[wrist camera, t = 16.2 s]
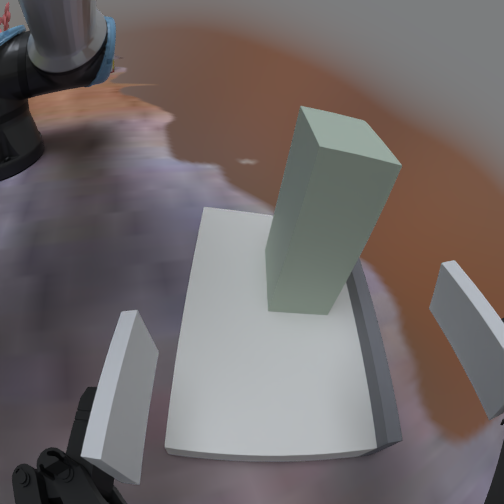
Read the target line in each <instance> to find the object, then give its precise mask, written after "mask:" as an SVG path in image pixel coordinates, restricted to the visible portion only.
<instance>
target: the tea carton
mask: <svg viewBox="0 0 504 504" xmlns="http://www.w3.org/2000/svg"><path fill="white" fill-rule="evenodd" d="M401 167H402V165H401V164H400V162H399V161H398V160H397V159H396V157H395V156H394V155H393V154H392V152H391V151H390V150H389V149H388V147H387V146H386V145H385V144H384V143H383V141H382V140H381V139H380V138H379V137H378V136H377V134H376V133H375V132H374V131H373V130H372V128H371V127H370V126H369V125H368V124H367V123H366V122H365V121H363V120H360V119H355V118H352V117H347V116H344V115H340V114H335V113H331V112H327V111H322V110H318V109H313V108H308V107H303V106H301V107H300V110H299V114H298V118H297V122H296V127H295V131H294V135H293V139H292V143H291V147H290V151H289V156H288V160H287V164H286V168H285V172H284V176H283V180H282V184H281V188H280V192H279V196H278V200H277V204H276V208H275V212H274V216H273V220H272V224H271V228H270V232H269V236H268V240H267V244H266V248H265V260H266V280H267V300H268V311H271V312H285V313H299V314H316V315H328V313H329V311H330V310H331V308H332V306H333V304H334V303H335V301H336V299H337V297H338V295H339V294H340V292H341V290H342V288H343V286H344V285H345V283H346V281H347V279H348V277H349V275H350V273H351V272H352V270H353V268H354V266H355V264H356V262H357V260H358V258H359V256H360V254H361V252H362V250H363V248H364V246H365V244H366V242H367V240H368V238H369V236H370V234H371V232H372V230H373V228H374V226H375V224H376V222H377V220H378V218H379V216H380V214H381V212H382V209H383V207H384V205H385V203H386V201H387V199H388V197H389V194H390V191H391V190H392V188H393V185H394V183H395V181H396V179H397V176H398V174H399V172H400V169H401Z"/></svg>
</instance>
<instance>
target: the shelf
mask: <svg viewBox="0 0 504 504" xmlns="http://www.w3.org/2000/svg"><path fill="white" fill-rule="evenodd" d="M272 220H273V215H265V214H258V213H250V212H242V211H234V210H226V209H218V208H210V207H204V210H203V214H202V219H201V224H200V228H199V233H198V238H197V243H196V248H195V253H194V258H193V263H192V268H191V274H190V279H189V284H188V290H187V295H186V301H185V307H184V312H183V318H182V324H181V330H180V336H179V342H178V349H177V355H176V362H175V369H174V376H173V383H172V390H171V397H170V405H169V413H168V421H167V429H166V438H165V449H166V451H167V452H168V454H170V455H177V456H185V457H193V458H203V459H214V460H228V461H249V462H293V461H314V460H328V459H339V458H349V457H357V456H364V455H371V454H374V453H376V452H379V451H381V450H383V449H385V448H387V447H390V446H392V445H394V444H396V443H398V442H400V441H402V434H401V428H400V422H399V416H398V411H397V405H396V400H395V395H394V390H393V385H392V380H391V376H390V371H389V367H388V362H387V358H386V353H385V349H384V345H383V341H382V337H381V333H380V329H379V325H378V321H377V318H376V314H375V310H374V306H373V303H372V299H371V296H370V292H369V289H368V285H367V282H366V279H365V275H364V272H363V269H362V265H361V262H360V259H359V258H358V260H357V262H356V264H355V266H354V268H353V270H352V272H351V273H350V275H349V277H348V279H347V281H346V283H345V285H344V286H343V288H342V290H341V292H340V294H339V295H338V297H337V299H336V301H335V303H334V304H333V306H332V308H331V310H330V311H329V313H328V315H316V314H299V313H285V312H271V311H268V300H267V280H266V260H265V248H266V244H267V240H268V236H269V232H270V228H271V224H272Z"/></svg>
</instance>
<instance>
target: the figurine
mask: <svg viewBox="0 0 504 504" xmlns="http://www.w3.org/2000/svg"><path fill="white" fill-rule="evenodd" d="M0 21H1V22H2V23H3V24H4V31H6V30H8V28H9V25H8V22H9V21H10V12H9V2H8V4H6V7H5V14H4V15H3V17H2V18H1V17H0ZM1 22H0V24H1ZM1 32H2V31H1V29H0V33H1Z"/></svg>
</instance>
